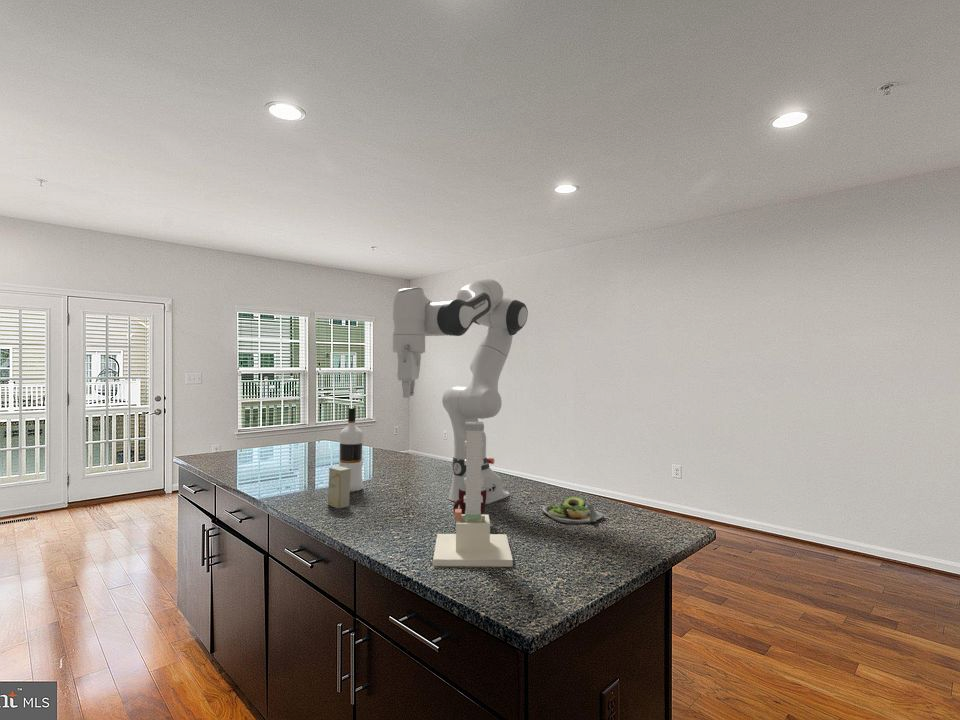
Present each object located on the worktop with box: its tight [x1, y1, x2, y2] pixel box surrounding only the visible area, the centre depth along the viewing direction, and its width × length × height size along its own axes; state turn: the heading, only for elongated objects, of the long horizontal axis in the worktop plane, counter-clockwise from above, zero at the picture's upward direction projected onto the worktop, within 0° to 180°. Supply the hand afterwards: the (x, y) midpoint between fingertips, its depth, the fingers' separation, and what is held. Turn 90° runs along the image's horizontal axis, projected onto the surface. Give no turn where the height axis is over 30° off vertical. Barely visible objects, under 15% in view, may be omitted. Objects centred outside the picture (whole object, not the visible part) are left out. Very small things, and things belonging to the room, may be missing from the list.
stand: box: [432, 508, 514, 568], centre depth 123 cm, size 18×18×10 cm
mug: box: [452, 486, 486, 515], centre depth 146 cm, size 10×8×10 cm
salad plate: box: [541, 496, 604, 525], centre depth 155 cm, size 19×18×5 cm
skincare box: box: [327, 465, 351, 509], centre depth 163 cm, size 6×4×12 cm
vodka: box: [338, 407, 364, 493], centre depth 185 cm, size 9×9×30 cm
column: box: [464, 421, 485, 522], centre depth 124 cm, size 6×5×24 cm
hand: (408, 396), depth 138 cm, fingers open, 8 cm apart
